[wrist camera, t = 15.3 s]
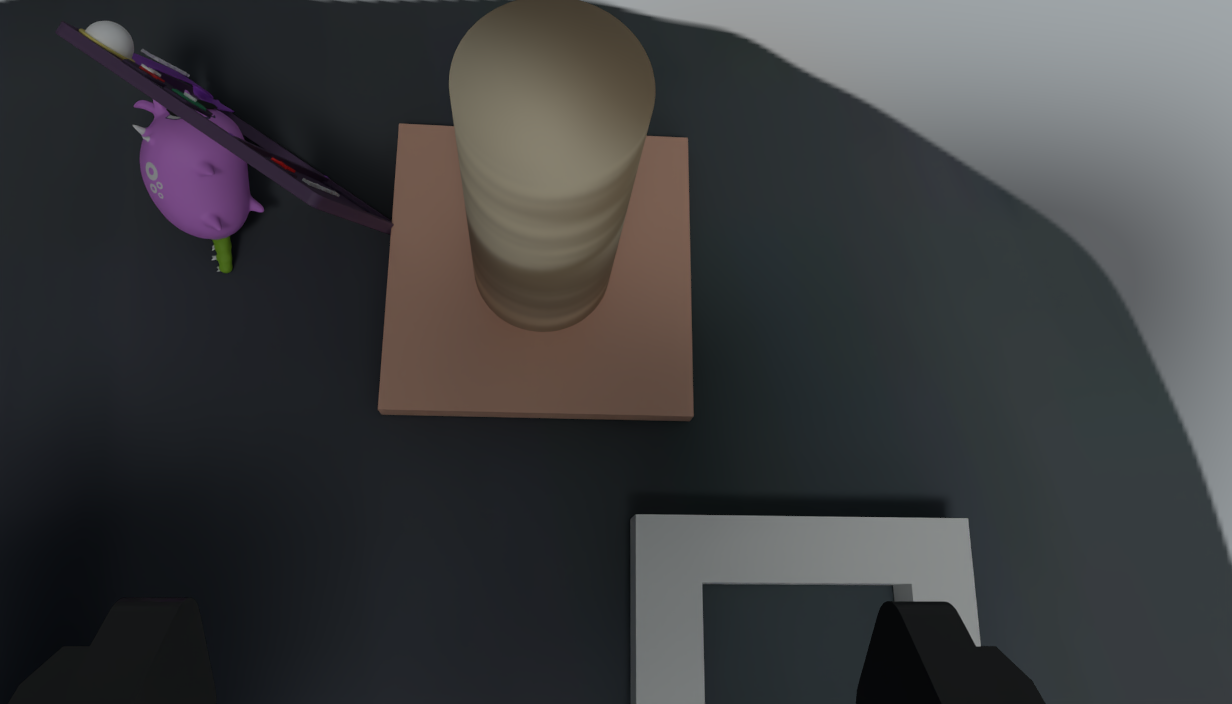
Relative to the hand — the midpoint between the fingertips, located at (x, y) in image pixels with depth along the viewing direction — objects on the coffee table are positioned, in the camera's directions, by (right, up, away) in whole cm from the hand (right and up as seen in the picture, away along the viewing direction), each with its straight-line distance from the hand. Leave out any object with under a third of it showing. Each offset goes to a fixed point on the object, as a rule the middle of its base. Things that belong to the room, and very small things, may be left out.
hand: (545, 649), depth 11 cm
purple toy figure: (-11, +8, +20) cm, 25 cm away
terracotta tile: (-2, +6, +20) cm, 21 cm away
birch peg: (-2, +6, +20) cm, 21 cm away
